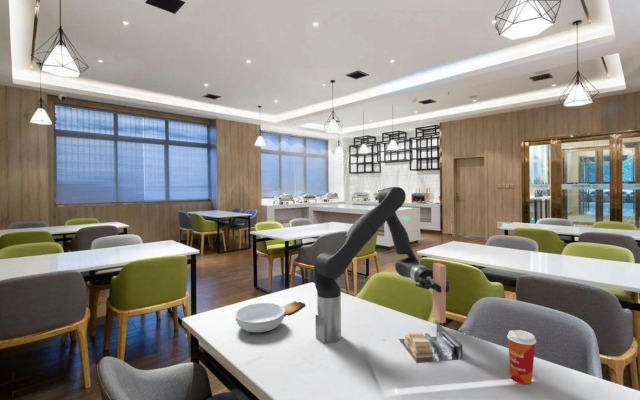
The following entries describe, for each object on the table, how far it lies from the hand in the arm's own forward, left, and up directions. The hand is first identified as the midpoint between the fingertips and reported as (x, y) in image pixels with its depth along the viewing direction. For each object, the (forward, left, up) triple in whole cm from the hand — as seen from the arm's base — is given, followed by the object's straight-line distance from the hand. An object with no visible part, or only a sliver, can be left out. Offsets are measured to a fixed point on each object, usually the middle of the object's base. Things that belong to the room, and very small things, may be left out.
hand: (444, 289), depth 115 cm
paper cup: (+7, -22, -24) cm, 33 cm away
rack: (-2, +5, -24) cm, 24 cm away
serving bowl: (-42, +60, -24) cm, 77 cm away
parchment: (-24, +70, -24) cm, 78 cm away
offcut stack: (-5, +6, -22) cm, 24 cm away
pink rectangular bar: (+2, +3, -12) cm, 12 cm away
